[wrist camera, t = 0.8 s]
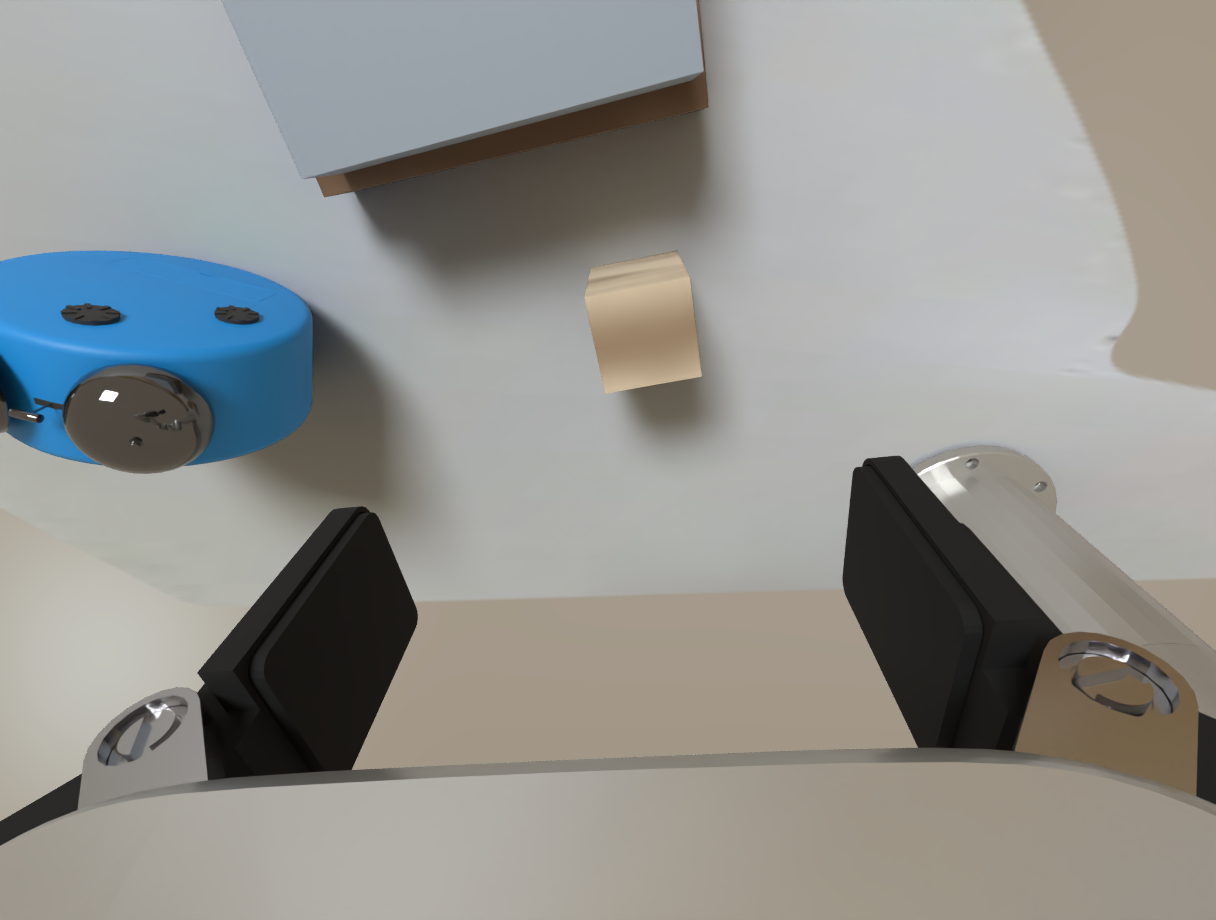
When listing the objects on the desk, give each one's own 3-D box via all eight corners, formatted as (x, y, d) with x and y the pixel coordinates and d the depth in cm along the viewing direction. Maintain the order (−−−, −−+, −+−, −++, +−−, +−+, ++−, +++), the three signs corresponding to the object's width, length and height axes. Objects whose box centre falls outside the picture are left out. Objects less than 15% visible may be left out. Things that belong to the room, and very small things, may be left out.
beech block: (687, 334, 34) (701, 376, 28) (608, 349, 34) (605, 393, 28) (676, 250, 31) (689, 276, 25) (591, 267, 32) (584, 297, 26)
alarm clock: (138, 330, 34) (-154, 446, 21) (122, 229, 31) (-230, 292, 18) (350, 385, 36) (198, 524, 23) (355, 294, 33) (182, 395, 20)
